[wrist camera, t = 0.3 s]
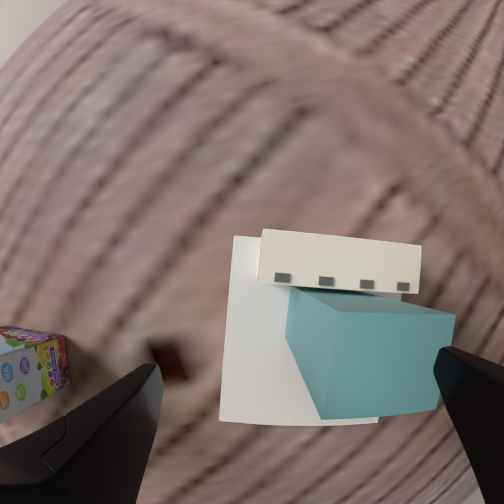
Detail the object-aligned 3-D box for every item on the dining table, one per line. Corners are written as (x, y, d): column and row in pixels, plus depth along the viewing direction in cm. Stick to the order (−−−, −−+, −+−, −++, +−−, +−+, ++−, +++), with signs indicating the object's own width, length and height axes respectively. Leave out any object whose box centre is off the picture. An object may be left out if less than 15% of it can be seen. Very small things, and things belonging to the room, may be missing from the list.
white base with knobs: (373, 417, 23) (405, 457, 16) (220, 415, 23) (209, 462, 16) (399, 252, 24) (447, 248, 17) (234, 236, 24) (227, 225, 17)
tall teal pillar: (347, 340, 22) (435, 409, 9) (284, 337, 22) (321, 419, 9) (353, 289, 22) (456, 314, 9) (290, 284, 22) (338, 311, 9)
